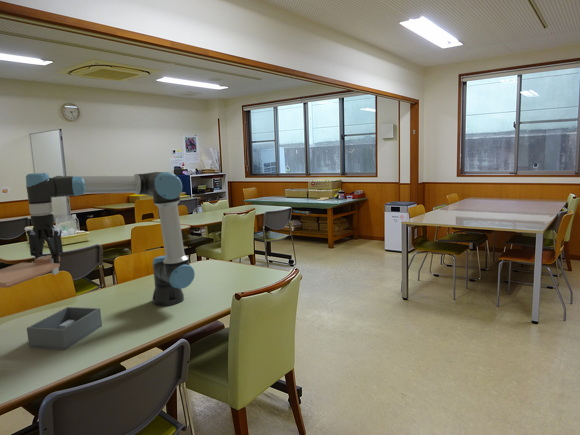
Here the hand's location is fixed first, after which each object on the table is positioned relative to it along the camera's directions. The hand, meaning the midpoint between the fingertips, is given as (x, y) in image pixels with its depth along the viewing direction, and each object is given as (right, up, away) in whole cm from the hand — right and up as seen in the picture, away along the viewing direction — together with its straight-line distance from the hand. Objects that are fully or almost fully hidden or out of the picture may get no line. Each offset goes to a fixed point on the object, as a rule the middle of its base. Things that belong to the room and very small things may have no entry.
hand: (49, 273), depth 160 cm
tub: (+2, -27, +9) cm, 29 cm away
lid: (-2, +1, -12) cm, 12 cm away
